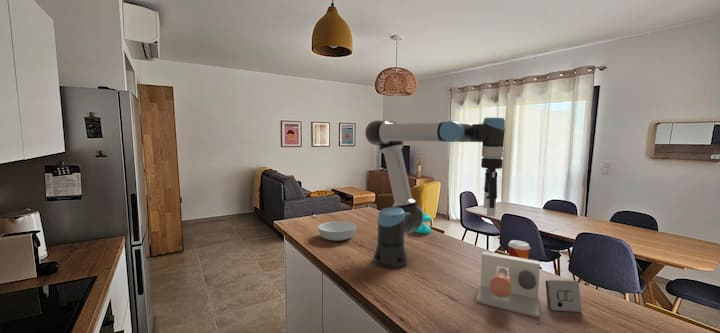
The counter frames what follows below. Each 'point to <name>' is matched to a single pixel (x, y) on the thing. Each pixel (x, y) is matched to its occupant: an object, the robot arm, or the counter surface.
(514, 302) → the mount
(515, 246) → the paper cup
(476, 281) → the counter surface
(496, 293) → the knob
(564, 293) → the electrical switch
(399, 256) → the robot arm
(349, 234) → the serving bowl
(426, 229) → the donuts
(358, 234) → the counter surface
